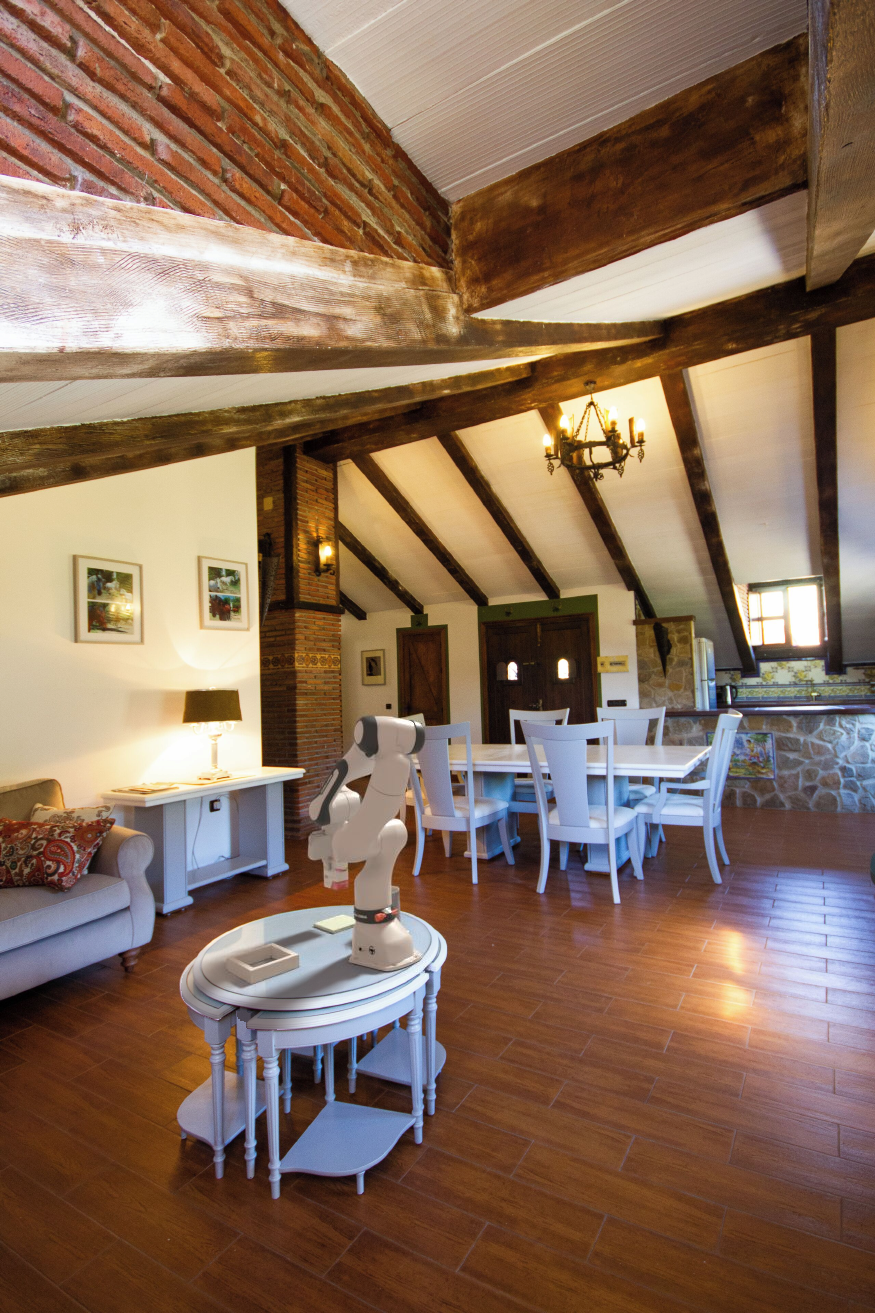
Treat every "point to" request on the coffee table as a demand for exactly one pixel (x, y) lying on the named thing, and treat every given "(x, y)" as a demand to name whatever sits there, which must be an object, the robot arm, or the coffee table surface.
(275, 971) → the cartridge dock
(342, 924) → the cream square pad
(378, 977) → the coffee table surface
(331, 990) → the coffee table surface
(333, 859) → the ink cartridge box
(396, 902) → the pillar candle
